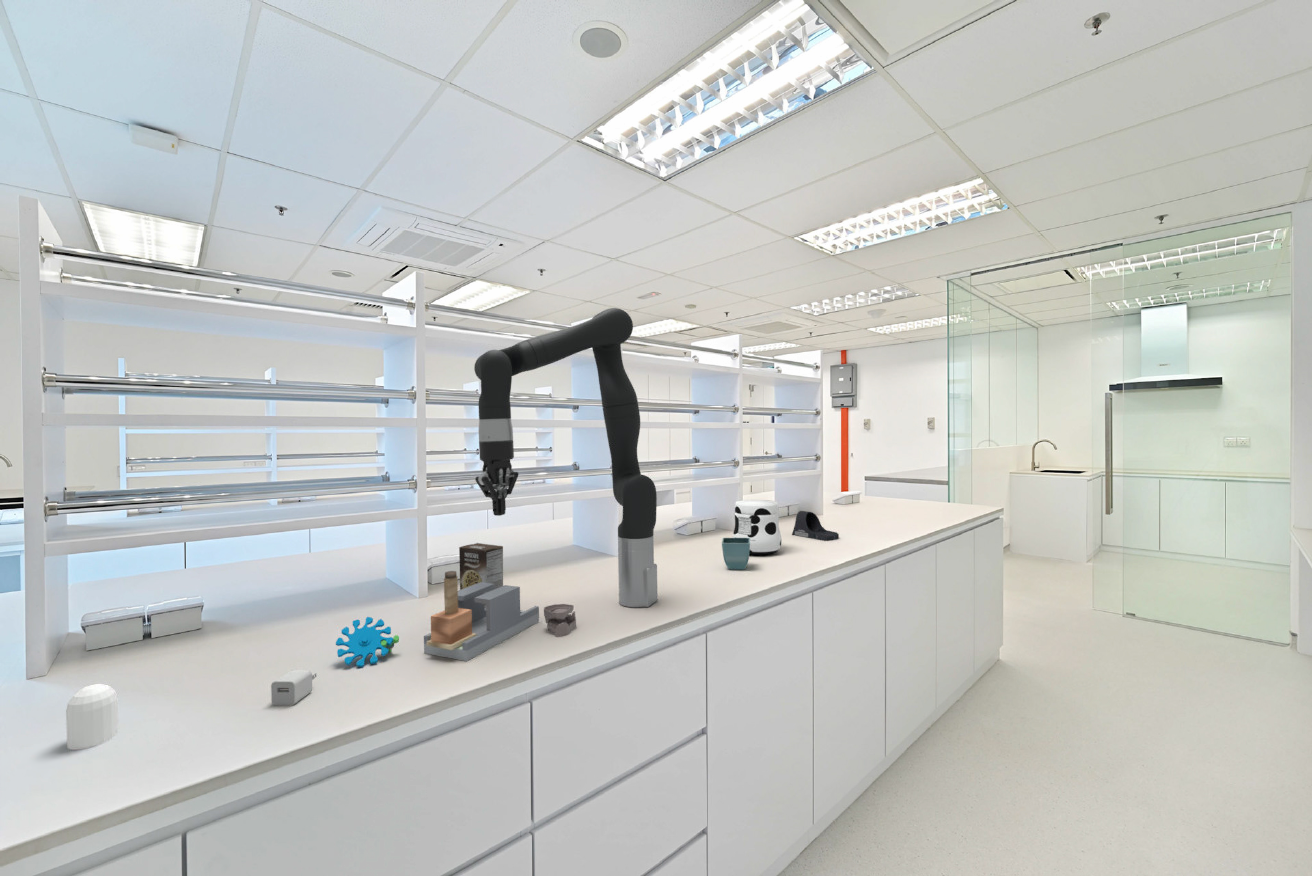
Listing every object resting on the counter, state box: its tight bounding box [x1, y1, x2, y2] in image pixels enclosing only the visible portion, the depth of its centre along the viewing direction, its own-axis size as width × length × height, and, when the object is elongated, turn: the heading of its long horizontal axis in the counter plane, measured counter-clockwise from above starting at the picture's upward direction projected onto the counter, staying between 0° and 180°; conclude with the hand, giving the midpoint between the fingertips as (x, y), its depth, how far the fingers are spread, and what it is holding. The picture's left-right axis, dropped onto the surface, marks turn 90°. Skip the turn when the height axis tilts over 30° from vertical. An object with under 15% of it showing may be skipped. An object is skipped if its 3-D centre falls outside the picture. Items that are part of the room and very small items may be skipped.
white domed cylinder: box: [65, 683, 120, 751], centre depth 82 cm, size 5×5×8 cm
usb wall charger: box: [270, 669, 317, 706], centre depth 95 cm, size 4×7×4 cm, turn 178°
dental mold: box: [543, 603, 577, 638], centre depth 124 cm, size 8×7×5 cm
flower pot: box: [721, 537, 750, 571], centre depth 177 cm, size 9×9×9 cm
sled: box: [427, 570, 477, 650], centre depth 111 cm, size 6×7×14 cm
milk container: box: [732, 499, 782, 555], centre depth 199 cm, size 17×17×18 cm
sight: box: [791, 510, 840, 542], centre depth 226 cm, size 9×18×10 cm, turn 36°
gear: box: [335, 616, 400, 668], centre depth 110 cm, size 11×6×10 cm
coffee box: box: [458, 542, 504, 608], centre depth 139 cm, size 9×6×16 cm
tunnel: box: [423, 582, 540, 662], centre depth 121 cm, size 11×24×10 cm, turn 157°
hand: (499, 514), depth 126 cm, fingers closed
